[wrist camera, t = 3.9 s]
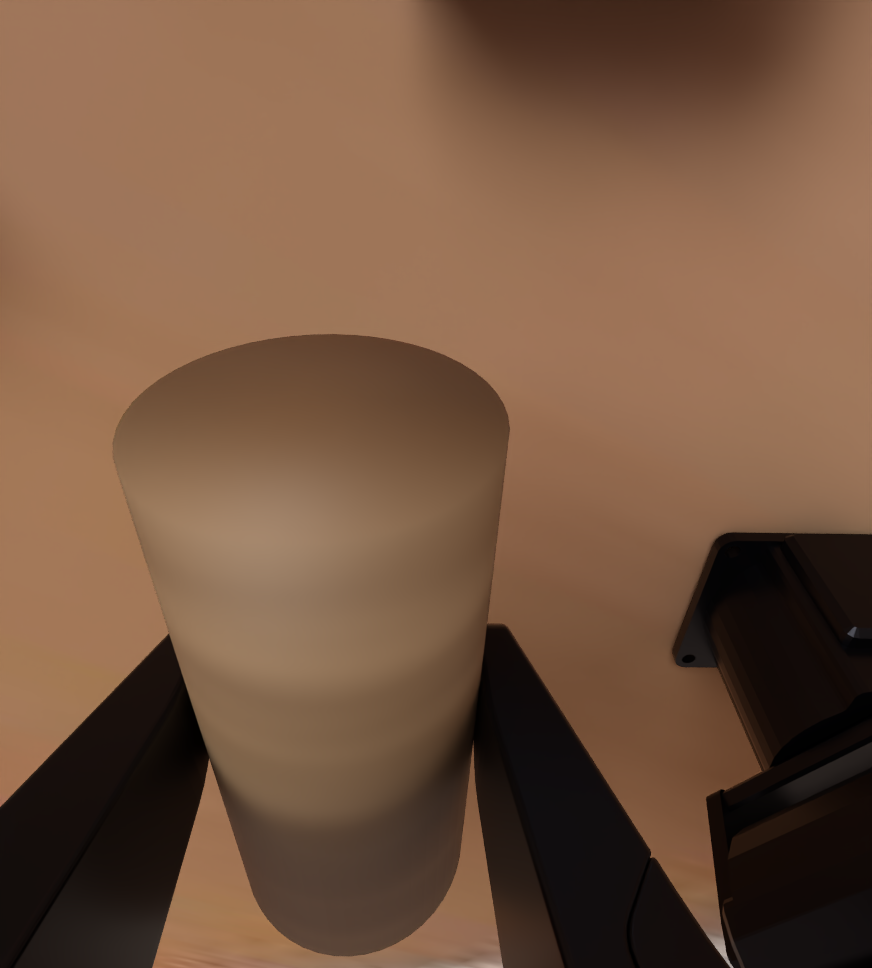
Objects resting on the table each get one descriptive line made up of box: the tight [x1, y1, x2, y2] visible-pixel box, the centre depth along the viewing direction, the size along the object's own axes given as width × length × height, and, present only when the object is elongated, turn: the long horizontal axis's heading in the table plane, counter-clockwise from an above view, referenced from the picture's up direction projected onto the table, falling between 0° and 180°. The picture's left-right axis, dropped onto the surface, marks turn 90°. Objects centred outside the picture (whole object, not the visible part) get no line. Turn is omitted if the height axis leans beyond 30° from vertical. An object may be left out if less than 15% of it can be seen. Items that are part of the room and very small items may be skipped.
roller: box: [113, 334, 510, 956], centre depth 8 cm, size 8×4×4 cm, turn 178°
